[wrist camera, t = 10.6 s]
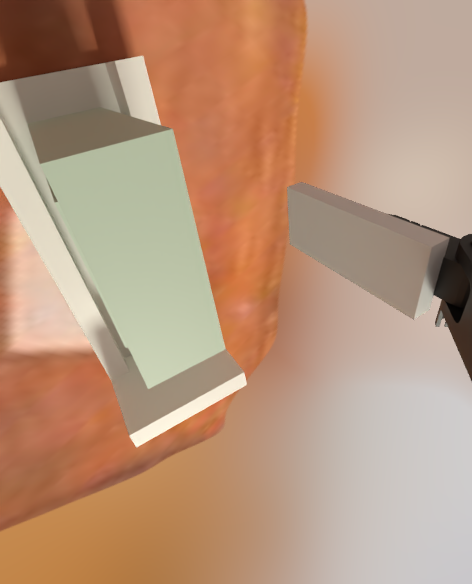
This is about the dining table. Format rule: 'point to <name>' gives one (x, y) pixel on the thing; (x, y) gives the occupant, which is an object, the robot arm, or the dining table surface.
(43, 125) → the door panel
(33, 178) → the track
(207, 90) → the dining table surface
